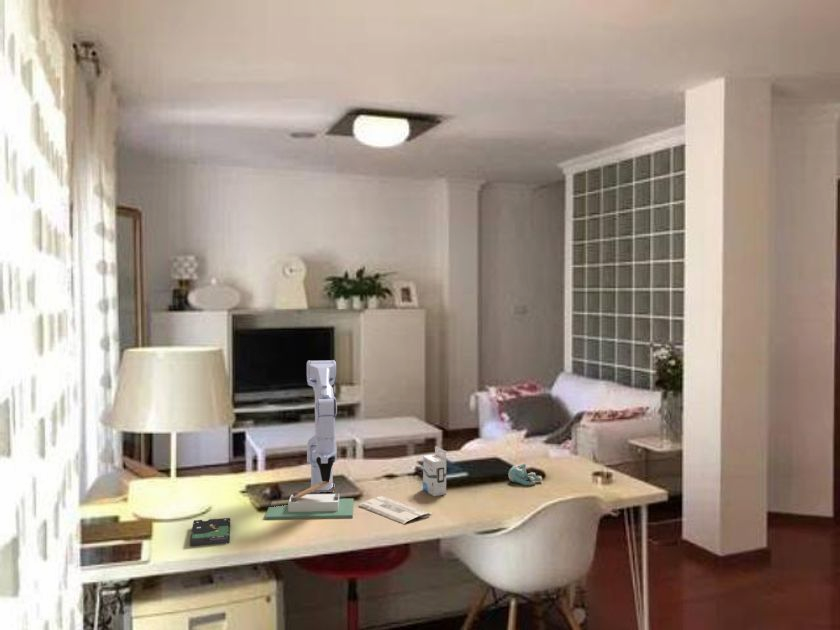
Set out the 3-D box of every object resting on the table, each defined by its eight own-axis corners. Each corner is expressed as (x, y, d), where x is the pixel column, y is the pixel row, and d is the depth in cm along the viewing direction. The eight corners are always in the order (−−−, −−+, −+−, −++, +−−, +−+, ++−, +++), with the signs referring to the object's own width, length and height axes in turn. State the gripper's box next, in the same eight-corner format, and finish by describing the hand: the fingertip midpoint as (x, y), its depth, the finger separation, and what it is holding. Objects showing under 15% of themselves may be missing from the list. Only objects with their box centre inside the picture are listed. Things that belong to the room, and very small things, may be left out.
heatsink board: (272, 502, 220) (272, 487, 219) (353, 500, 222) (353, 486, 221) (264, 519, 204) (264, 503, 203) (352, 517, 206) (352, 501, 205)
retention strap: (295, 496, 214) (294, 494, 214) (330, 479, 215) (329, 478, 215) (294, 500, 210) (293, 498, 210) (329, 483, 211) (329, 481, 211)
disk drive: (192, 529, 196) (189, 548, 182) (192, 520, 196) (189, 538, 182) (230, 526, 199) (230, 544, 185) (230, 517, 199) (230, 534, 185)
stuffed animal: (546, 471, 238) (512, 464, 238) (542, 491, 238) (508, 484, 239) (542, 463, 249) (509, 457, 249) (538, 482, 249) (505, 476, 250)
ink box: (422, 489, 234) (422, 447, 234) (435, 487, 236) (435, 445, 236) (433, 496, 227) (434, 452, 226) (446, 494, 229) (447, 451, 228)
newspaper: (434, 517, 208) (434, 509, 208) (404, 530, 200) (404, 522, 200) (386, 499, 225) (386, 491, 225) (357, 510, 217) (356, 503, 217)
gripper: (314, 432, 219) (314, 474, 219) (310, 442, 204) (310, 487, 205) (336, 432, 219) (336, 474, 220) (334, 442, 205) (334, 487, 205)
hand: (325, 480), depth 212 cm, fingers closed, pressing on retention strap
